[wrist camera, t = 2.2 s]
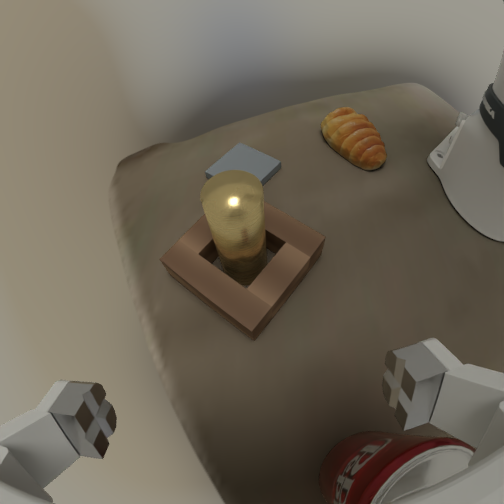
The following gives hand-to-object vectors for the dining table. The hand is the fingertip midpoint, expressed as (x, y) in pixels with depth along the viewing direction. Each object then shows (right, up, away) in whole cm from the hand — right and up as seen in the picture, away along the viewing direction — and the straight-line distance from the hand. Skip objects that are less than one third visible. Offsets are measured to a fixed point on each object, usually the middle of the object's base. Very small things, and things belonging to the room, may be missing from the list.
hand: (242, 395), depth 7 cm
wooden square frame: (0, +3, +20) cm, 20 cm away
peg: (0, +3, +20) cm, 20 cm away
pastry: (+13, +17, +28) cm, 36 cm away
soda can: (+9, -14, +10) cm, 19 cm away
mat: (-1, +13, +26) cm, 29 cm away
